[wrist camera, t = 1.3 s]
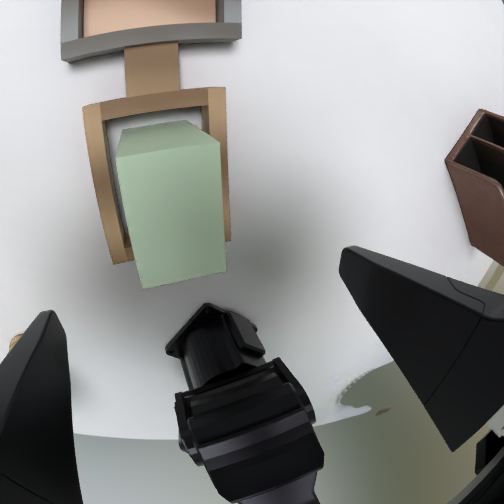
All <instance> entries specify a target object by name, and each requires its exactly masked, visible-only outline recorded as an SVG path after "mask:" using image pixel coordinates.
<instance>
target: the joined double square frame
mask: <svg viewBox="0 0 504 504" xmlns="http://www.w3.org/2000/svg"><path fill="white" fill-rule="evenodd" d="M241 38H242V22H241V0H62V2H61V60H63V61H65V62H68V63H69V62H73V61H77V60H81V59H85V58H89V57H94V56H99V55H103V54H109V53H114V52H120V51H124V59H125V79H126V94H127V97H125V98H120V99H114V100H109V101H104V102H99V103H95V104H90V105H87V106H84V107H82V110H83V119H84V127H85V134H86V141H87V148H88V154H89V160H90V166H91V172H92V177H93V182H94V187H95V192H96V197H97V202H98V206H99V211H100V215H101V219H102V224H103V228H104V232H105V236H106V240H107V243H108V247H109V251H110V255H111V258H112V262H113V265H114V264H119V263H124V262H128V261H133V260H135V257H134V253H133V249H132V245H131V240H130V236H129V233H127V234H124V230H123V226H122V221H121V216H120V211H119V206H118V201H117V196H116V191H115V185H114V179H113V173H112V167H111V161H110V154H109V147H108V140H107V132H106V124H105V120H108V119H113V118H118V117H123V116H129V115H134V114H140V113H147V112H153V111H160V110H168V109H176V108H184V107H193V106H201V110H202V131H204V132H205V133H207V134H208V135H210V136H211V137H213V138H214V139H216V140H217V141H219V142H220V157H221V179H222V200H223V218H224V236H225V242H227V241H231V231H230V210H229V186H228V159H227V129H226V93H225V87H206V88H194V89H183V90H180V81H179V53H178V44H189V43H213V42H233V41H236V40H239V39H241Z"/></svg>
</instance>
